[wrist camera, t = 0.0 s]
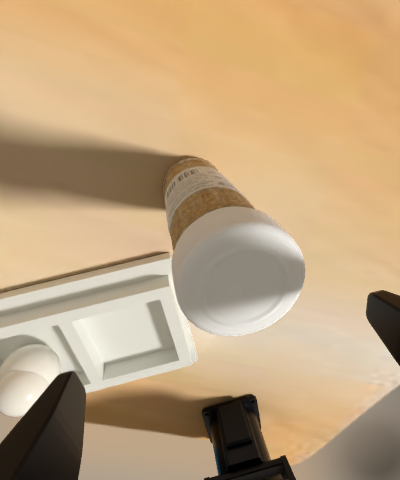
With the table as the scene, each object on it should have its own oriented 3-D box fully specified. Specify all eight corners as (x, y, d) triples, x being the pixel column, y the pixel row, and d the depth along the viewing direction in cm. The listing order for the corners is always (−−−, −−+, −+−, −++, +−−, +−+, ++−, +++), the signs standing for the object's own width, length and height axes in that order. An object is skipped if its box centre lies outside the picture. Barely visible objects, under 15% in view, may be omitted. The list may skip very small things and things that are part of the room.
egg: (75, 362, 25) (57, 422, 21) (26, 375, 25) (-4, 438, 20) (55, 327, 24) (29, 383, 19) (2, 340, 23) (-38, 401, 18)
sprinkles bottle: (177, 223, 22) (206, 359, 10) (151, 171, 20) (149, 264, 8) (230, 200, 22) (322, 310, 10) (209, 144, 20) (293, 200, 8)
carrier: (197, 352, 29) (200, 374, 26) (20, 399, 28) (8, 425, 25) (169, 252, 23) (171, 268, 21) (-52, 305, 22) (-75, 328, 20)
